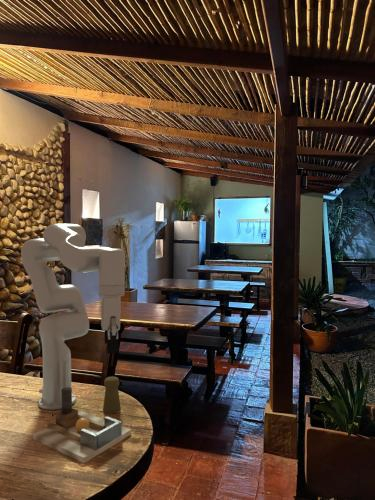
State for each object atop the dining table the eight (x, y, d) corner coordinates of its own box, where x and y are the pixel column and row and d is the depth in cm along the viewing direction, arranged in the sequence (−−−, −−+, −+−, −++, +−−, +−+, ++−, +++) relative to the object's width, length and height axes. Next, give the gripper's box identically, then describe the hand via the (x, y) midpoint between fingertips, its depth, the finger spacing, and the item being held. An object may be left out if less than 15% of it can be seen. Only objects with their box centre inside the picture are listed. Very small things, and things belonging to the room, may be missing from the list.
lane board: (33, 438, 114) (32, 428, 114) (81, 415, 129) (81, 406, 129) (84, 463, 102) (83, 452, 102) (131, 434, 117) (130, 424, 117)
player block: (56, 426, 118) (55, 390, 118) (69, 419, 123) (68, 385, 122) (64, 429, 116) (64, 393, 116) (77, 423, 120) (77, 387, 120)
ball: (72, 432, 115) (72, 419, 115) (83, 427, 118) (83, 414, 118) (81, 436, 113) (81, 422, 113) (92, 430, 116) (92, 417, 116)
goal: (80, 444, 109) (80, 430, 108) (106, 429, 117) (106, 416, 117) (95, 450, 105) (95, 436, 105) (121, 435, 113) (121, 421, 113)
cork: (116, 414, 130) (116, 381, 130) (99, 412, 131) (99, 380, 131) (123, 406, 136) (123, 375, 136) (107, 404, 137) (106, 374, 137)
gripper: (97, 286, 122) (96, 340, 123) (100, 295, 106) (100, 357, 106) (121, 286, 124) (120, 339, 125) (128, 294, 108) (127, 355, 109)
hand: (111, 347), depth 116 cm, fingers open, 9 cm apart
